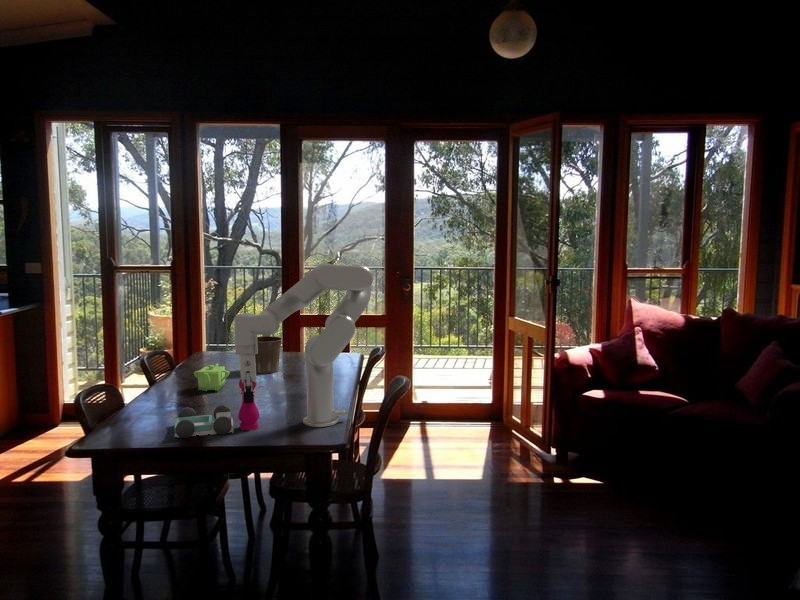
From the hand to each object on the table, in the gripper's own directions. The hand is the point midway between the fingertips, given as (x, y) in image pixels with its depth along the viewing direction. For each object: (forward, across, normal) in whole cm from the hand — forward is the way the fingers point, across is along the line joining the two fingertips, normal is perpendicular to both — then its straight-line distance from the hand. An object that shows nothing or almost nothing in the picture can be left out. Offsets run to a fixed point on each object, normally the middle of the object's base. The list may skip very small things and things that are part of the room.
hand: (248, 400), depth 220 cm
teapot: (+10, +59, +13) cm, 61 cm away
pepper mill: (+10, 0, 0) cm, 10 cm away
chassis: (+10, +3, +15) cm, 18 cm away
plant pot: (+10, +87, -12) cm, 88 cm away
